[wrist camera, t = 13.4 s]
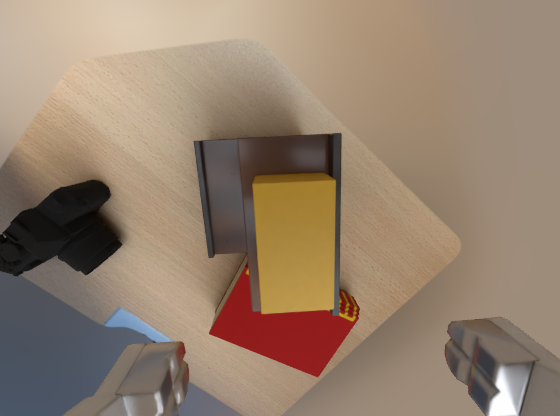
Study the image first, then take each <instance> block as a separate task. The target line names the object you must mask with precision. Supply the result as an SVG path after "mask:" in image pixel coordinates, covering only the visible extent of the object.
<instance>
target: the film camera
mask: <svg viewBox="0 0 560 416" xmlns="http://www.w3.org/2000/svg"><path fill="white" fill-rule="evenodd" d="M110 195H111V194H110V191H109V188H108V187H107V186H106V185H104V184H103V183H102V182H100V181H95V180H89V181H86V182H82V183H78V184H74V185H70V186H67V187H61V188H59V189H57V190H55V191H53V192H52V193H51V194H50V195H49V196H48V197H47V198H45V199H44V200H43V201H42V202H41V203H40V204H39V205H38V206H37V207H35V208H33V209H32V208H31V209H28V210H24V211H22V212H21V213H20V214H19V215H18V216H17V217H16V218H15V219H14V220H13V221H12V222H11V225H10V226H9V227H8V228H7V229H6V230H5V231H4V232H3V234H4V235H5V236H6V238H4V236H3V234H1V235H0V271H2V272H6V273H10V274H13V275H14V276H18V275H20V274H22V273H23V271H29V270H31V269H33V268H35V267H37V266H38V265H40V264H42V263H44V262H46V261H48V260H49V259H51V258H53V257H54V256H56V255H57V256H58V259H60V260H61V261H65V262H66V263H67V264H68V265H70V266H71V267H72V268H73V269H74V270H76V271H81V272H82V273H84V274H85V275H88V274H89V273H90V272H92V271H93V270H94V269H96V268H97V267H98V266H99V265H101V264H102V263H103V262H104V261H105V260H107V259H108V258H109V257H110V256H111V255H113V254H114V253H115V252H116V251H117V250H118V249H119V248H120V247H121V246H122V243H121V242H120V241H119V240H118V237H117V236H116V235H115V234H114V233H113V232H111V231H110V230H109V229H108V228H107V226H106V225H105V224H104V223H101V222H100V221H101V218H100V217H98V216H97V214H96V213H95V212H96V211H97V210H98V209H99V208H100V207H101V206H102V205H103V204H104V203H105V202H106V201H107V200H108V199H109V198H110Z"/></svg>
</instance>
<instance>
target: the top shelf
mask: <svg viewBox="0 0 560 416" xmlns="http://www.w3.org/2000/svg"><path fill="white" fill-rule="evenodd" d="M341 137H342V134H341V133H333V134H315V135H294V136H273V137H252V138H238V139H237V142H238V153H239V165H240V177H241V188H242V200H243V211H244V223H245V235H246V246H247V258H248V269H249V281H250V293H251V304H252V311H253V312H255V311H261V302H260V288H259V273H258V259H257V244H256V230H255V216H254V201H253V187H252V184H253V181H254V178H255V176H258V175H279V174H300V173H322V172H323V173H325V174H327V175H329V176H330V177H332V178H333V179H335V180H336V201H335V269H334V309H332V310H330V312H331V315H332V316H338V315H339V277H340V207H341Z"/></svg>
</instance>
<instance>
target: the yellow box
mask: <svg viewBox="0 0 560 416" xmlns="http://www.w3.org/2000/svg"><path fill="white" fill-rule="evenodd" d="M252 187H253V201H254V216H255V230H256V244H257V259H258V273H259V288H260V302H261V313H262V314H270V313H285V312H301V311H317V310H332V309H334V269H335V201H336V180H335V179H333V178H332V177H330V176H329V175H327V174H325V173H323V172H322V173H300V174H279V175H258V176H255V178H254V181H253V184H252Z"/></svg>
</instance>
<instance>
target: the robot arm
mask: <svg viewBox="0 0 560 416" xmlns="http://www.w3.org/2000/svg"><path fill="white" fill-rule="evenodd" d="M447 332H448V334H449V335H450V337H451V339H450V340H449V341H448V342H447V343H446V345H445V357H446V361H447V364H448V366H449V368H450V370H451V372H452V373H453V374H454V376H455V377H456V378H457V380H459V381H461V382H462V383H464V384H465V385H467V386H468V393H469V395H470V396H471V398H472V399H473V400H474V401H475V403H476V404H477V405H478V407H479V408H480V409H481V410H482V412H483V413H484V414H485V416H560V359H558V358H557V357H556V356H555V355H553V354H552V353H551V352H549V351H548V350H547V349H545V348H544V347H543V346H541V345H540V344H539V343H538V342H536V341H535V340H534V339H532V338H531V337H530V336H528V335H527V334H526V333H524V332H523V331H522V330H520V329H519V328H518V327H517V326H515V325H514V324H513V323H511V322H510V321H509V320H507V319H505V318H502V317H494V318H484V319H475V320H463V321H452V322H451V323H450V324H449V326H448V331H447ZM185 352H186V351H185V347H184V343H183V342H181V341H180V342H160V343H147V344H130V345H129V346H127V347H126V348H125V349H124V351H123V352H122V354H121V356H120V357H119V359H118V360H117V361H116V363H115V364H114V366H113V367H112V369H111V370H110V372H109V373H108V375H107V376H106V378H105V379H104V381H103V382H102V384H101V385H100V387H99V388H98V390H97V391H96V393H95V394H94V396H93V397H87V398H85V399H84V400H83V401H81V402H80V403H79V404H77V405H76V406H74V407H73V408H72V409H70V410H69V411H68V412H66V413H65V414H64V415H63V416H179V414H178V408H179V407H180V406H181V404H183V402H184V401H185V397H186V394H187V391H188V383H189V368H188V364H187V363H186V362H185V361H184V360H183V358H184V355H185Z"/></svg>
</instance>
